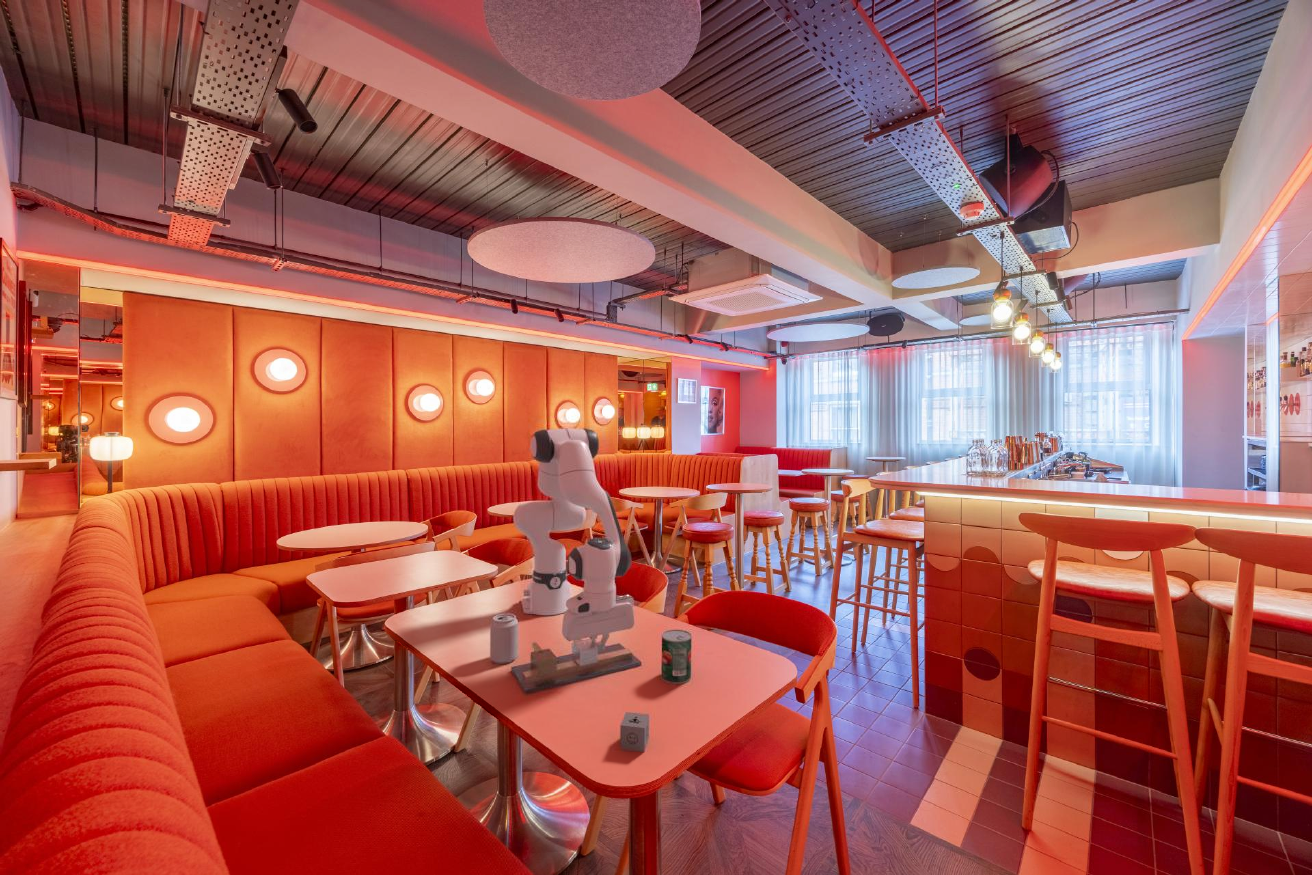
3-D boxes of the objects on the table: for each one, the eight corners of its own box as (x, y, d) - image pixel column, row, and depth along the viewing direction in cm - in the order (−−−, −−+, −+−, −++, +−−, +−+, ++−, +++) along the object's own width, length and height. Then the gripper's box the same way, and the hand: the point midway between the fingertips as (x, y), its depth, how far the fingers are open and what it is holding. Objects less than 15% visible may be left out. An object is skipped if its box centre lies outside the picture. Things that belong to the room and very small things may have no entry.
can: (509, 650, 149) (509, 609, 149) (522, 659, 144) (523, 616, 143) (485, 658, 144) (485, 616, 143) (498, 667, 138) (498, 623, 138)
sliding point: (564, 654, 144) (565, 635, 143) (581, 650, 146) (581, 632, 146) (579, 671, 134) (580, 650, 133) (597, 667, 136) (597, 646, 136)
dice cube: (620, 749, 103) (620, 725, 103) (625, 735, 108) (626, 711, 108) (644, 752, 102) (644, 727, 102) (649, 737, 107) (649, 714, 107)
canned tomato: (655, 675, 135) (655, 633, 135) (678, 666, 140) (678, 626, 140) (674, 687, 129) (674, 643, 128) (697, 678, 133) (697, 636, 133)
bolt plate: (511, 670, 137) (511, 646, 137) (619, 646, 152) (619, 624, 152) (525, 694, 124) (525, 667, 124) (641, 665, 140) (641, 641, 140)
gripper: (628, 590, 147) (628, 638, 147) (560, 601, 137) (559, 652, 137) (638, 596, 142) (638, 646, 142) (568, 608, 132) (568, 662, 132)
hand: (599, 649), depth 139 cm, fingers closed
